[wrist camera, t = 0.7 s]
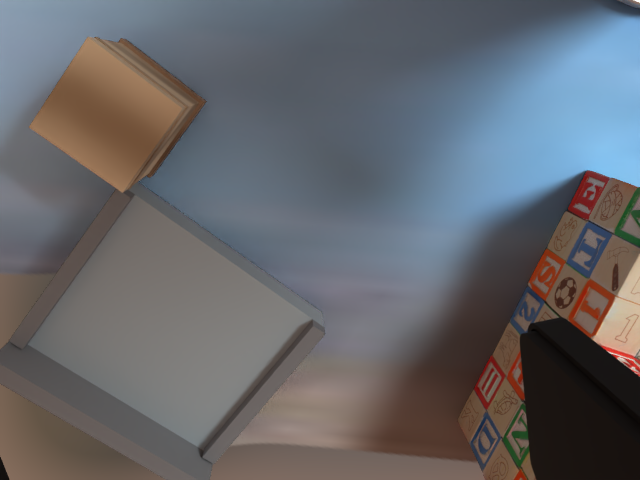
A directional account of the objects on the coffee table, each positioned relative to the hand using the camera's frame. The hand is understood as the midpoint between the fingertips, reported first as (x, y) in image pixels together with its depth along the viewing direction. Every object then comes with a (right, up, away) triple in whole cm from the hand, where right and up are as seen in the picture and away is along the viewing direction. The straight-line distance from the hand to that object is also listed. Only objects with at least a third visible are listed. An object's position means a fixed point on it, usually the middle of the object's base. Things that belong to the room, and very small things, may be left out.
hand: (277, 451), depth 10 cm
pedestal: (-11, +12, +26) cm, 30 cm away
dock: (-10, -2, +30) cm, 32 cm away
